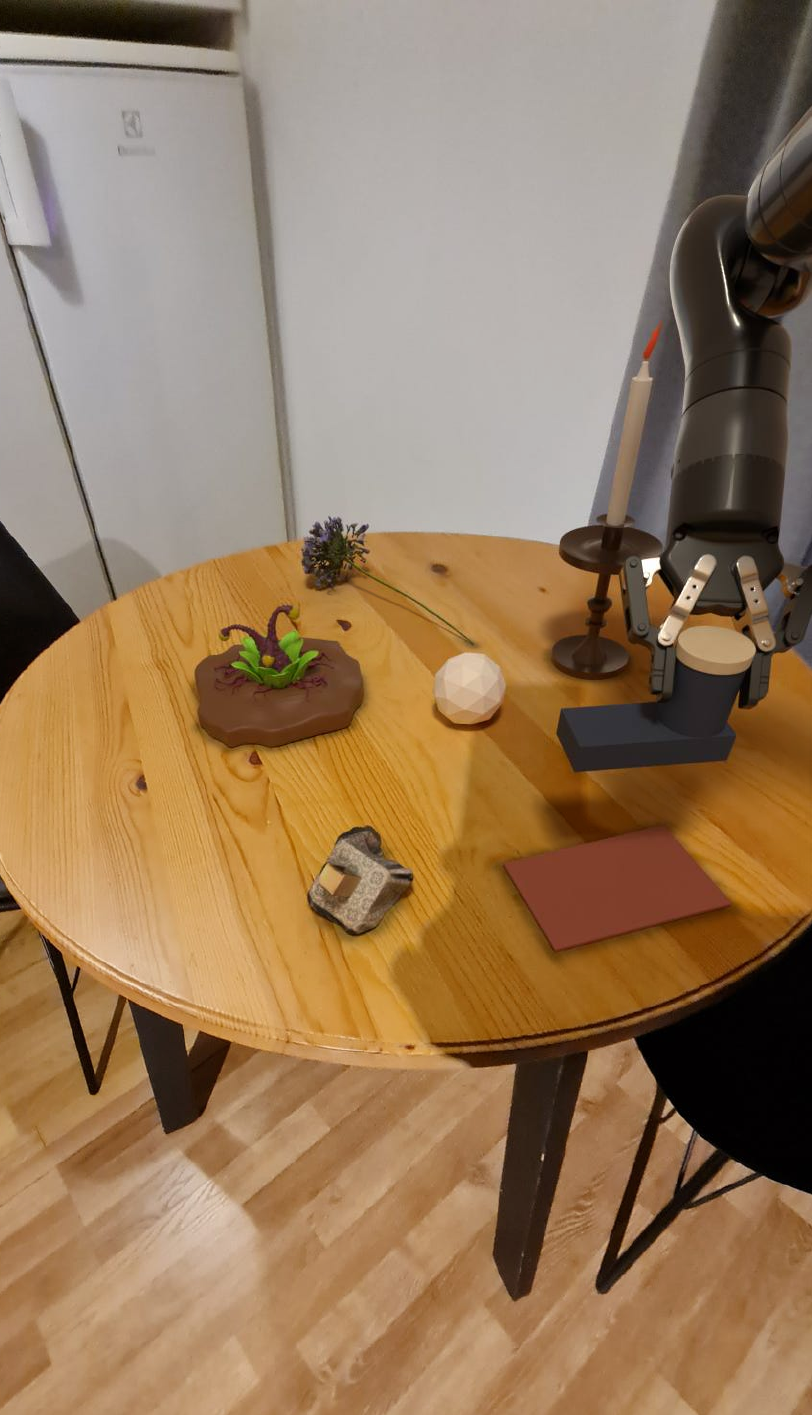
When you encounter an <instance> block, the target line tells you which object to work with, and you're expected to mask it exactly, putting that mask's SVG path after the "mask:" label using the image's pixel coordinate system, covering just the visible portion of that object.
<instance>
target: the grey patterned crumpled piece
mask: <svg viewBox="0 0 812 1415" xmlns="http://www.w3.org/2000/svg"><path fill="white" fill-rule="evenodd" d="M381 837H382V836H381V834H380V833H379V832H378V831H377V830H376V829H375V828H374V827H373V826H372V825H368V824H367V825H365V826H354V827H352V828H351V829H349V830H347V831H344V832H342V833H341V834H339V835H338V836H337V839H336V840H335V843H334V845H333V849H332V851H331V852H330V854H329V856H328V857H327V859H326V861H325V862H324V864H323V865H322V867H321V869H320V871H319V872H318V874H317V875H316V877H315V879H314V881H313V882H312V884H311V886H310V887H309V890H308V891H307V894H306V899H307V903H308V905H309V906H310V907H312V909H313V910H314V911H315V912H316V913H318V914H319V915H321V916H322V917H326V918H327V919H328V920H329V921H331V922H332V923H334V924H335V925H337V926H340V927H341V929H342V930H343V931H345V932H346V933H348V934H349V935H358V934H361V933H362V932H365V931H368V930H372V929H374V928H376V927H378V926H379V925H380V923H381V921H382V920H383V918H384V916H385V914H386V913H387V912H388V911H389V910H390V909H391V908H392V907H393V906H394V905H395V903H396V902H397V901H398V899H399V898H400V896H401V894H403V893H404V892H405V891H407V890H408V889H409V887H410V886H411V885H412V883H413V882H414V877H415V876H414V872H413V870H412V869H410V868H408V867H405V866H403V865H402V864H401V863H400V862H398V861H396V860H395V859H390V858H387V857H384V856H382V855H384V851H383V849H382V848H381V843H382V838H381Z"/></svg>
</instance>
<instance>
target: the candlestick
mask: <svg viewBox="0 0 812 1415" xmlns="http://www.w3.org/2000/svg"><path fill="white" fill-rule="evenodd" d="M662 325H663V321H660V322H659V325H658V326H657V327H656V328H655V329H654V330H653V331H652V333H651V337H650V340H649V342H648V343H647V344H646V347H645V349H644V350H643V353H642V358H643V360H644V361H642V362H641V366H640V369H639V371H638V373H637V375H636V376H633V377H632V378H631V383H630V389H629V394H628V400H627V405H626V410H625V414H624V421H623V427H622V431H621V432H622V433H621V438H620V443H619V449H618V454H617V459H616V466H615V470H614V476H613V481H612V486H611V491H610V492H611V493H610V498H609V503H608V509H607V513H602V514H601V515H599V516H597V517H596V518H595V521H596V523H598V524H595V525H586V526H585V525H584V526H582V527H577V528H574V529H571V530H569V531H567V532H565V533H564V534H563V535H562V536H561V538H560V540H559V544H558V545H559V546H558V555H559V557H560V559H562V561H563V562H564V563H566V564H568V565H569V566H570V567H571V566H572V568H573V567H574V568H576V569H578V570H581V571H585V572H589V573H592V574H598V577H597V582H596V588H595V592H594V595H591V596H589V598H588V599H587V601H586V605H587V608H588V610H589V612H590V613H589V614H590V615H589V616H588V617H585V620H584V624H585V626H587V627H588V630H587V634H576V635H569V636H567V637H564V638H561V639H559V640H558V641H556V642H555V643H554V644H553V646H552V648H551V652H550V661H551V663H552V665H553V666H554V667H555V668H556V669H557V670H558V671H560V672H562V673H563V674H566V675H567V676H570V677H574V678H577V679H582V680H591V681H596V680H599V681H600V680H606V679H607V680H608V679H610V678H611V679H612V678H615V677H617V676H619V675H621V674H622V673H623V672H625V670H627V666H628V662H629V658H630V656H629V653H628V651H627V649H626V648H625V647H624V646H623V645H622V644H621V643H619V642H618V641H615V640H613V639H610V638H608V637H605V636H601V635H600V633H601V629H603V628H605V627H607V623H608V621H607V619H606V618H604V617H605V613H608V612H609V610H610V609H611V607H613V606H612V605H613V600H612V599H611V598H610V597H609V596H608V593H609V587H610V583H611V578H612V576H619V573H620V571H621V569H622V567H623V565H624V563H625V561H626V560H627V558H629V557H630V556H637V557H639V558H640V559H641V560H644V559H651V558H657V557H660V556H661V554H662V552H663V551H664V546H663V543H662V541H660V539H659V538H658V537H656V536H654V535H653V534H651V533H649V532H646V531H645V530H644V531H643V530H642V529H638V528H634V527H631V526H633V525H634V524H635V523H636V521H635V519H634V518H633V517H631V516H630V515H627V511H628V506H629V501H630V497H631V496H630V494H631V490H632V486H633V481H634V476H635V475H634V474H635V471H636V464H637V459H638V455H639V450H640V444H641V440H642V434H643V429H644V425H645V422H646V421H645V419H646V415H647V410H648V405H649V400H650V396H651V390H652V385H653V380H654V379H653V377H651V376H650V372H649V364H650V362H649V361H648V360H649V359H650V358H651V356H652V353H653V351H654V350H655V347H656V345H657V342H658V338H659V335H660V331H661V328H662Z"/></svg>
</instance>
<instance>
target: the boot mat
mask: <svg viewBox="0 0 812 1415" xmlns="http://www.w3.org/2000/svg"><path fill="white" fill-rule="evenodd" d="M502 867H503V868H504V870H505V872H506V873H507V875H508V877H509V878H510V880H511V882H512V884H513V885H514V887H515V888H516V890H517V892H518V894H519V895H520V897H521V899H522V900H523V902H524V903H525V905H526V907H527V908H528V910H529V912H530V914H531V915H532V918H534V920H535V922H536V924H537V925H538V927H539V929H540V930H541V932H542V933H543V935H544V937H545V939H546V941H547V942H548V944H549V945H550V947H551V949H552V950H553V952H554V953H558V952H562V951H566V950H569V949H573V948H577V947H580V946H584V945H589V944H591V943H596V942H600V941H603V940H607V939H611V938H615V937H618V936H622V935H626V934H629V933H633V932H634V933H635V932H638V931H640V930H641V931H642V930H646V929H649V928H653V927H657V926H660V925H663V924H668V923H672V922H675V921H678V920H683V919H687V918H690V917H695V916H698V915H701V914H706V913H709V912H713V911H716V910H720V909H721V910H722V909H724V908H728V907H731V906H732V903H733V902H732V901H731V900H730V899H729V898H728V897H727V896H726V895H725V893H724V892H723V891H722V890H721V889H720V888H719V886H718V885H717V884H716V883H715V882H714V881H713V879H711V877H710V876H709V875H708V874H707V873H706V871H704V869H703V868H702V867H701V866H700V865H699V864H698V863H697V861H696V860H695V859H694V858H693V857H692V856H691V854H690V853H689V852H688V851H687V850H686V849H685V848H684V846H683V845H682V844H681V843H680V842H679V841H678V839H677V838H676V837H675V836H674V835H673V834H672V833H671V831H669V829H668V828H667V827H666V826H665V824H662V825H658V826H653V827H649V828H644V829H641V830H637V831H633V832H628V833H624V834H619V835H616V836H611V837H608V838H607V837H606V838H602V839H599V840H595V841H590V842H586V843H582V844H579V845H574V846H569V847H566V848H562V849H556V850H553V851H549V852H545V853H540V854H536V855H532V856H528V857H524V858H519V859H515V860H512V861H507V862H503V865H502Z"/></svg>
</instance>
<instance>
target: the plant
mask: <svg viewBox="0 0 812 1415" xmlns="http://www.w3.org/2000/svg"><path fill="white" fill-rule="evenodd" d="M280 613H282V614H283V613H284V615H285V616H286V618H288V619H289V620H292V621H295V620H297V619H299V617H300V613H301V612H300V610H299V608H298V607H296V606H295V605H292V604H290V605H289V604H286V605H285V604H283V605H280V606H277V607H276V609H275V610H274V611H273V612H272V613H271V616H270V618H269V620H268V621H269V622H268V623H267V624H266V627H267V634H266V633H265V634H260V633H259V632H258V631H256V629H254V628H253V629H252V627H250V626H247V625H243V624H237V623H235V624H231V625H230V626H227V627H224V628H222V629H220V631H219V632H218V638H219V639H220V641H221V642H227V641H228V640H230V638H231V631H232V630H233V631H234V630H236V631H238V630H239V631H241V632H243V633H246V634H247V635H248V637H247V636H243V637H242V639H241V644H233V645H232V646H230V647H229V648H228V649H226V650H225V651H223V652H221V653H219V654H210V655H207V656H206V657H205V658H203V659H202V660H201V661H200V662H199V663H198V664H197V666H195V669H194V679H195V684H196V688H197V692H198V694H199V695H198V696H199V705H198V707H197V717H198V721H199V725H200V727H201V728H202V729H204V730H205V731H206V732H207V734H209V735H210V737H212V738H213V739H215V740H218V741H220V742H222V743H223V744H224V745H226V746H227V747H228V748H235V747H238V746H240V745H246V744H257V745H262V746H265V747H269V748H274V747H279V746H283V745H286V744H290V743H292V742H297V741H299V740H300V741H301V740H304V739H307V738H311V737H314V736H317V735H321V734H327V733H331V732H334V731H338V730H341V729H345V728H348V727H349V726H350V725H351V722H352V719H353V717H354V714H355V712H356V710H358V708H359V707H360V706H361V704H362V703H363V699H364V680H363V674H362V669H361V665H360V662H359V660H358V659H356V658H354V657H352V656H350V655H349V654H348V653H347V652H346V651H345V649H344V648H343V647H342V645H341V644H340V642H339V641H338V640H328V639H321V638H310V637H302V636H300V635H299V632H298V631H297V630H296V629H294V630H291V631H288V632H287V633H286V634H285V635H284V636H283V637H282V638H281V639H279V637H278V636H277V628H276V627H277V620H278V617H279V614H280Z"/></svg>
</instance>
